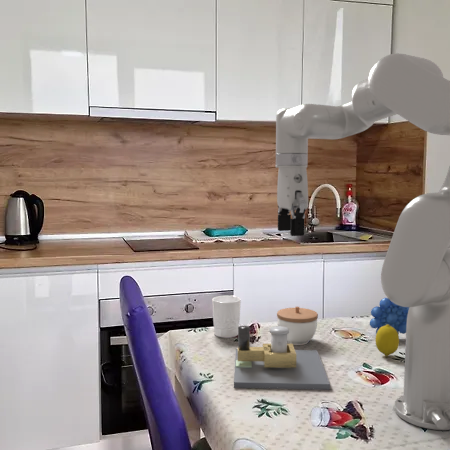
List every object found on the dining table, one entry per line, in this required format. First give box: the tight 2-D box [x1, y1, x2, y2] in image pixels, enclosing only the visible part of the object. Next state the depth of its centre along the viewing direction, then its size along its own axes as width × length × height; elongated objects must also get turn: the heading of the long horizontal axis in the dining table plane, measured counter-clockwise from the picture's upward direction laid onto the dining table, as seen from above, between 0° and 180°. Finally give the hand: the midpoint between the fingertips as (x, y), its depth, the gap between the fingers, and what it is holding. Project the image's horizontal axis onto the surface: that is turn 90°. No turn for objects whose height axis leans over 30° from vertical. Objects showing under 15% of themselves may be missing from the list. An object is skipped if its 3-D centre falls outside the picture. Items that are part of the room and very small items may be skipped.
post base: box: [233, 325, 331, 391], centre depth 117 cm, size 20×20×10 cm
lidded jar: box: [276, 306, 319, 346], centre depth 137 cm, size 11×11×9 cm
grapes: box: [369, 297, 409, 335], centre depth 139 cm, size 12×7×12 cm, turn 72°
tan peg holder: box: [237, 325, 296, 368], centre depth 117 cm, size 13×7×8 cm, turn 90°
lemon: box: [374, 324, 400, 357], centre depth 126 cm, size 6×6×8 cm
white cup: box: [211, 294, 242, 339], centre depth 142 cm, size 8×8×10 cm
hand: (290, 233), depth 124 cm, fingers open, 9 cm apart
